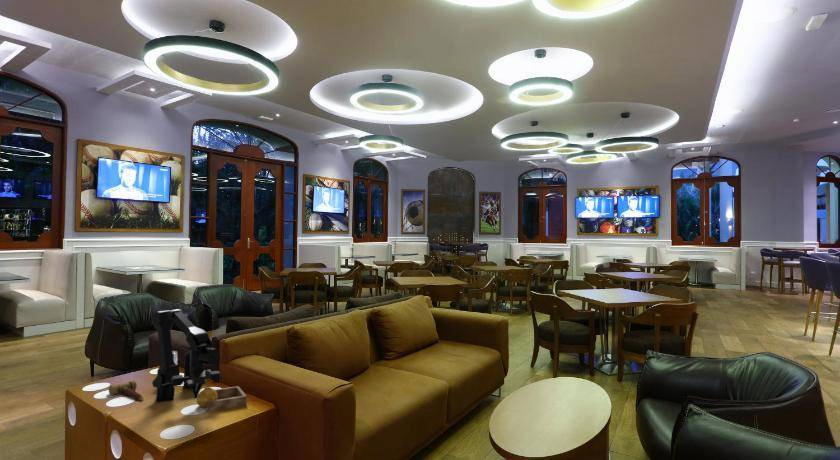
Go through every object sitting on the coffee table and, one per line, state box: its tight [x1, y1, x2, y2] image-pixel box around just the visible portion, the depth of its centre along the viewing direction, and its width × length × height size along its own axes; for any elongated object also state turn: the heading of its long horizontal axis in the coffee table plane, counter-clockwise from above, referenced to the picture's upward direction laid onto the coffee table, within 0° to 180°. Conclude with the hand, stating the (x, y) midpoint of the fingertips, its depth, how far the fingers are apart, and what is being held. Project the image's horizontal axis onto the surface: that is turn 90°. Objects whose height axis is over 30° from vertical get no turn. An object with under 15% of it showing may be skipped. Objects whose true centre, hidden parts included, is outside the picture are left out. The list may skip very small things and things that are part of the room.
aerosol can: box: [182, 350, 196, 390], centre depth 219 cm, size 8×8×20 cm
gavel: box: [108, 380, 144, 401], centre depth 204 cm, size 21×5×10 cm
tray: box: [206, 385, 248, 413], centre depth 199 cm, size 16×15×4 cm
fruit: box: [196, 386, 219, 408], centre depth 195 cm, size 8×8×8 cm
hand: (195, 398), depth 193 cm, fingers closed
